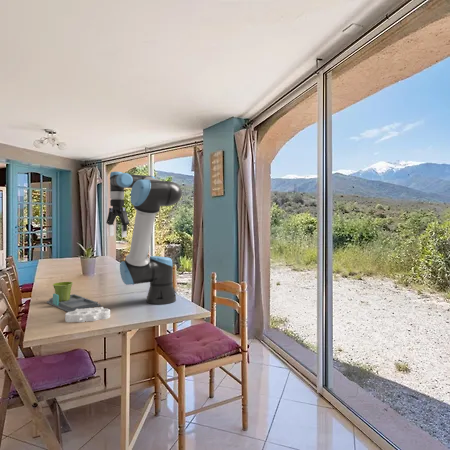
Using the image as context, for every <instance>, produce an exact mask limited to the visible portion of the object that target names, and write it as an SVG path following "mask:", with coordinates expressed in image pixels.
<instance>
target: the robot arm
mask: <svg viewBox="0 0 450 450" xmlns="http://www.w3.org/2000/svg"><path fill="white" fill-rule="evenodd" d="M109 184H110V185H109V189H110V190H109V195H110V197H109V198H110V200H109V205H110V207H109V209H108V214H107V218H106V224H107V225H108V237H114V236H115V226H114V223H115V220H116V218H117V217H118V218H119V220H120V222H121V238H127V237H128V236H127V235H128V234H127V232H128V230H127V229H128V225H130V220H129V217H128V214H127V208H126V207H124V206H125V200H124V199H125V189H126V188H127V189H130V203H131V204H132V206H133V208H134V210H135V211H136V212H135V218H134V223H133V231H132V237H131V243H130V249H129V253H128V254H127V255H126V256H125V258H124V259H125V260H123V261H122V260H121V261H120V263H119V272H120V277H121V280H122V282H123V284H124V285H133V286H134V285H138V284H147V283H149V289H148V292H147V296H146V303H148V304H151V305H167V304H171V303H174V302H176V301H177V295H176V292H175V289H174V284H173V281H174V280H173V278H174V277H173V275H174V274H173V271H174V270H173V269H174V265H173V260H172V258H171V257H167V256H160V255H159V256H158V255H151V256H149V251H150V250H149V249H150V246H151V245H150V244H151V240H152V234H153V233H152V232H153V229H154V224H155V223H154V222H155V217H156V214H158V213H159V212H160V211H161V210H160V209H161V207H172V206H174V205H176V204H177V203H179V201H180V200H181V198H182V197H183V196H182V195H183V194H182V193H183V191H182V188H181V187H180V185H179V184H178V183H176V182H174V181H170V180H161V179H158V178H157V177H155V176H154V175H143V174H133V173H132V174H131V173H127V172H122V171H110V173H109Z"/></svg>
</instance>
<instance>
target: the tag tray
mask: <svg viewBox="0 0 450 450" xmlns="http://www.w3.org/2000/svg"><path fill="white" fill-rule="evenodd" d="M46 303H47V304H48V305H51V306H53V307H55V308H58V309H60V310H62V311H64V312H66V313H67V312H71V311H75V310H76V309H84V308H93V307H94V308H98V306H99V307H102V306H101V304H100V303H98V301H96V300H93V299H89V298H85V297H84V296H81V295H78V294H75V293H72V294H70V299H69V300H67V301H61V302H60V301H59V295H57V294H55V293H52V297H51V298H49V300H46Z"/></svg>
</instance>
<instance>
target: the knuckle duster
mask: <svg viewBox="0 0 450 450" xmlns="http://www.w3.org/2000/svg"><path fill="white" fill-rule="evenodd" d="M64 315H65V316H64V320H65V321H64V322H65V323H85V321H86V322H95V321H99V320H107V319H109V318H111V309H109V308H104V306H99V307H94V308H84V309H76V310H75V311H71V312H67V311H66V312H65V314H64Z"/></svg>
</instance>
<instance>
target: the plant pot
mask: <svg viewBox="0 0 450 450" xmlns="http://www.w3.org/2000/svg"><path fill="white" fill-rule="evenodd" d="M73 284H74V282H73V281H60V282H56V283H53V284H52V286H53V289H54V294H57V295H59V301H60V302H61V301H67V300H69V299H70V295H71V292H72V287H73Z"/></svg>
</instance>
